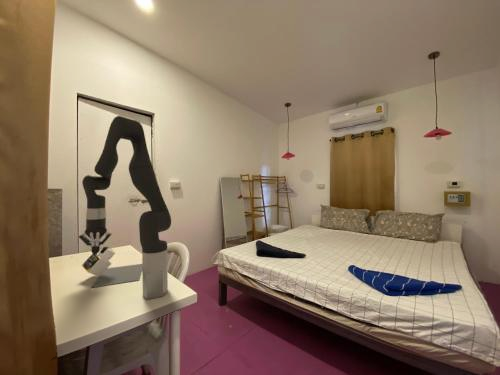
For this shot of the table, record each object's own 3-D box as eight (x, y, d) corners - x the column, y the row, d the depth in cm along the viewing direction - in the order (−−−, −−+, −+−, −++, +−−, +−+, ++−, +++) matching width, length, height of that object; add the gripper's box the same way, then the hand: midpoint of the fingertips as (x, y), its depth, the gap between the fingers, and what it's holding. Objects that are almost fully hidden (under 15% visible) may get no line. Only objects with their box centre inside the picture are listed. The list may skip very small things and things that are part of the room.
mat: (139, 280, 95) (139, 279, 95) (91, 287, 88) (91, 287, 88) (143, 264, 116) (143, 263, 116) (105, 269, 109) (105, 268, 109)
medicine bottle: (80, 265, 97) (101, 243, 102) (93, 270, 102) (113, 249, 107) (87, 272, 93) (108, 248, 99) (100, 277, 98) (119, 254, 104)
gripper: (75, 219, 93) (75, 257, 93) (110, 218, 98) (110, 254, 98) (82, 216, 100) (81, 252, 100) (114, 215, 105) (113, 249, 105)
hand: (95, 253), depth 99 cm, fingers closed
